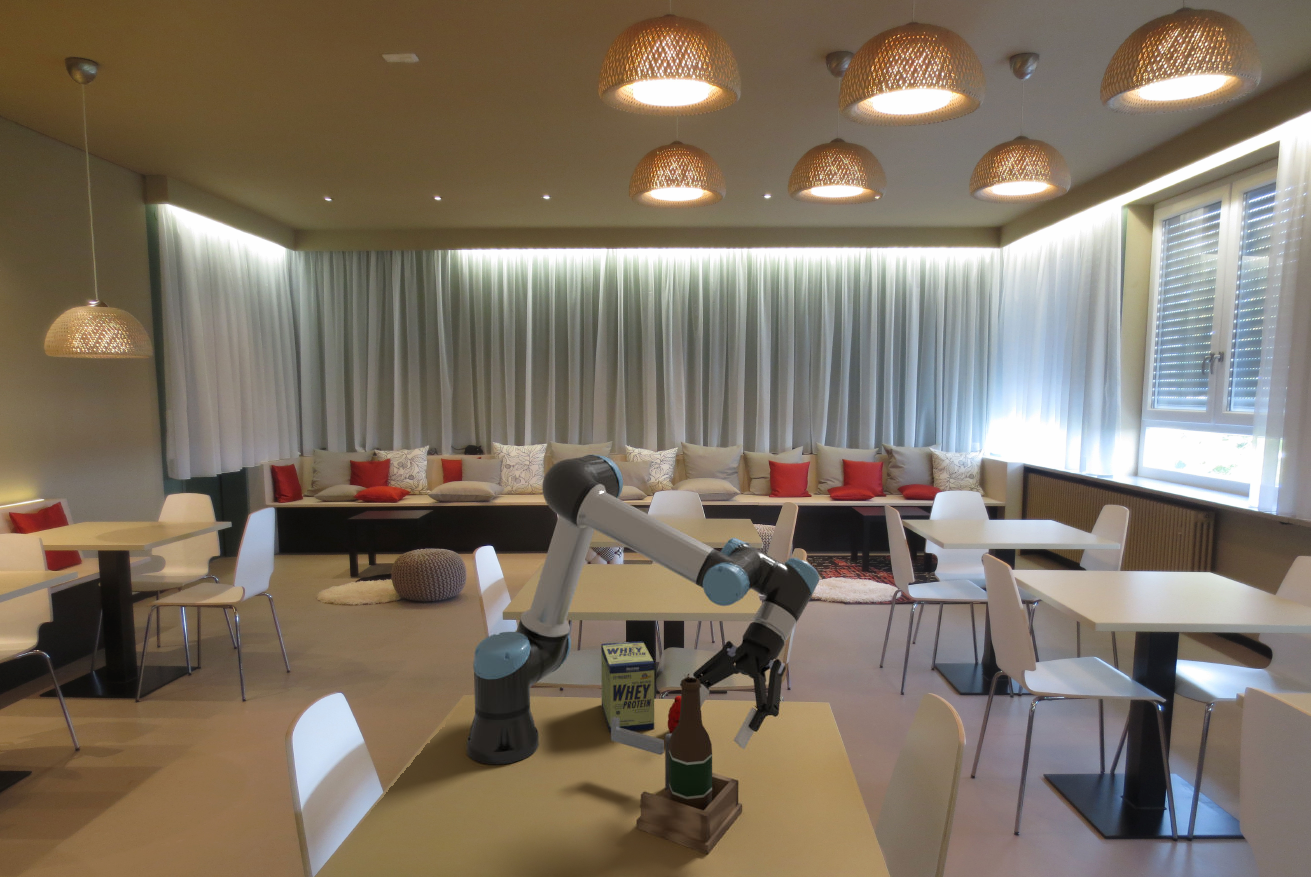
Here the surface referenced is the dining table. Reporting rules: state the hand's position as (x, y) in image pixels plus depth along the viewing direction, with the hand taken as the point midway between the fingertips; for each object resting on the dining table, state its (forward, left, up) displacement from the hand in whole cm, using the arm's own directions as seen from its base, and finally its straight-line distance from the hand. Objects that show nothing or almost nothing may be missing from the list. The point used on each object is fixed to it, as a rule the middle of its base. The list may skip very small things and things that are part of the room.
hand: (711, 731), depth 130 cm
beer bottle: (-2, -4, -14) cm, 15 cm away
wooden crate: (-3, -4, -15) cm, 16 cm away
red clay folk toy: (-18, +24, -15) cm, 34 cm away
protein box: (-34, +25, -15) cm, 45 cm away
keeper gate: (-18, +3, -9) cm, 20 cm away
